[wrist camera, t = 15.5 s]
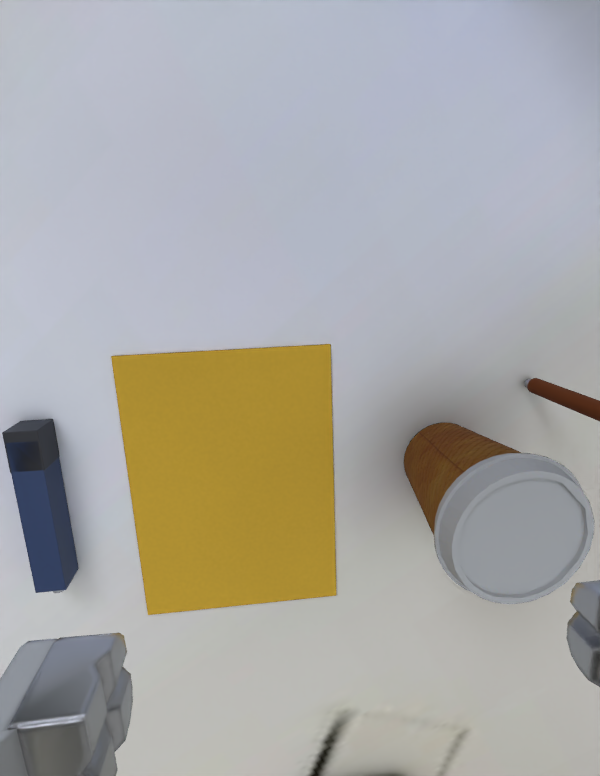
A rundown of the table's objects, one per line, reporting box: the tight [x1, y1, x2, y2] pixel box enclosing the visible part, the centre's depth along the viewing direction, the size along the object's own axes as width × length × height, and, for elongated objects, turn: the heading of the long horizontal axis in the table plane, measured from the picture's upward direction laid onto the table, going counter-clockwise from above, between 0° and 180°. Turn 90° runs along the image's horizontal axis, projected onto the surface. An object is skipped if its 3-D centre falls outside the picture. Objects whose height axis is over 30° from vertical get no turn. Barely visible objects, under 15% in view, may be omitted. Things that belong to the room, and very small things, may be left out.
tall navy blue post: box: [2, 419, 78, 593], centre depth 34 cm, size 14×2×3 cm, turn 2°
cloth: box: [111, 344, 336, 615], centre depth 36 cm, size 22×16×1 cm
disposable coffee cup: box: [404, 423, 594, 604], centre depth 32 cm, size 10×10×12 cm
